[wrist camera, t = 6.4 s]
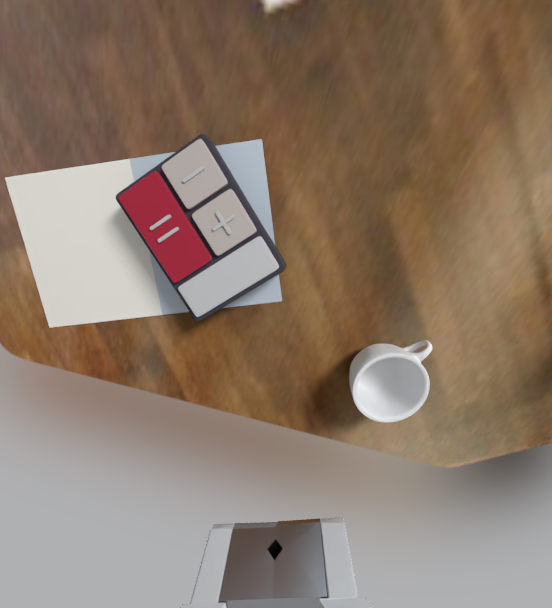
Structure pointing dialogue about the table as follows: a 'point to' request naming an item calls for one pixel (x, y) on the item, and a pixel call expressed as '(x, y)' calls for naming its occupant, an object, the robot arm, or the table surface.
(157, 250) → the calculator
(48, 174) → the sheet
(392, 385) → the teacup
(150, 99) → the table surface
